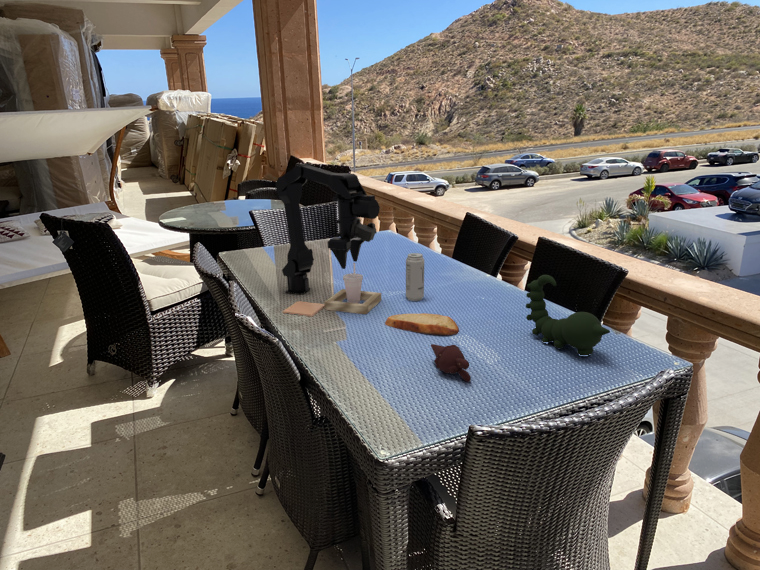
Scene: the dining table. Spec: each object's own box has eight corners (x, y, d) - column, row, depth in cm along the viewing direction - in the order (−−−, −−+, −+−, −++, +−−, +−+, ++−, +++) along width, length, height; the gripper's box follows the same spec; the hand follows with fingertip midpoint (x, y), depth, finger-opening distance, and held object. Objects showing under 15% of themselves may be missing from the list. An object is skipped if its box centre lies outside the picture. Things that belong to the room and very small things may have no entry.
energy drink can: (422, 302, 172) (423, 257, 168) (404, 301, 174) (404, 256, 169) (424, 296, 178) (425, 253, 174) (407, 295, 179) (407, 252, 175)
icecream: (416, 339, 128) (453, 368, 115) (441, 327, 130) (480, 354, 118) (421, 362, 131) (457, 393, 119) (445, 349, 133) (483, 378, 121)
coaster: (282, 313, 164) (282, 311, 164) (298, 302, 173) (298, 301, 173) (311, 316, 161) (311, 314, 161) (325, 306, 170) (325, 304, 170)
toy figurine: (518, 341, 145) (595, 369, 124) (518, 274, 141) (598, 291, 120) (542, 334, 150) (621, 360, 129) (543, 269, 146) (624, 284, 125)
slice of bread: (381, 322, 157) (381, 310, 156) (435, 313, 163) (435, 302, 162) (406, 345, 141) (406, 332, 140) (465, 334, 147) (465, 322, 146)
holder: (324, 309, 167) (324, 302, 166) (342, 295, 179) (342, 288, 178) (366, 314, 162) (365, 306, 161) (381, 300, 175) (381, 293, 174)
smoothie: (361, 308, 167) (360, 266, 163) (341, 307, 168) (340, 265, 164) (365, 302, 173) (364, 260, 169) (346, 300, 174) (345, 259, 170)
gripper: (360, 222, 151) (362, 274, 156) (382, 212, 168) (383, 259, 173) (325, 220, 155) (328, 272, 160) (350, 210, 172) (352, 257, 176)
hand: (349, 265), depth 167 cm, fingers open, 9 cm apart
